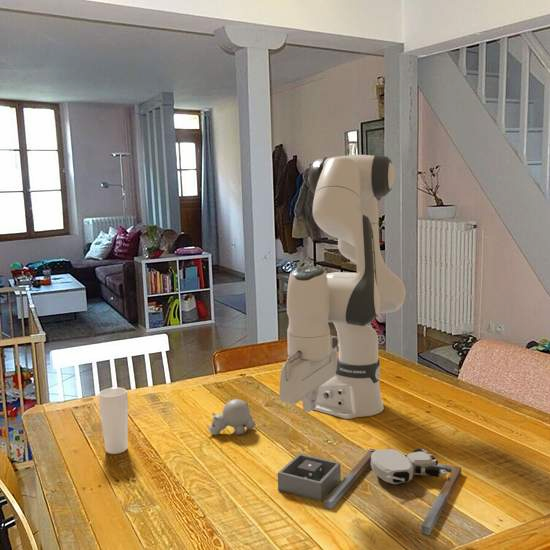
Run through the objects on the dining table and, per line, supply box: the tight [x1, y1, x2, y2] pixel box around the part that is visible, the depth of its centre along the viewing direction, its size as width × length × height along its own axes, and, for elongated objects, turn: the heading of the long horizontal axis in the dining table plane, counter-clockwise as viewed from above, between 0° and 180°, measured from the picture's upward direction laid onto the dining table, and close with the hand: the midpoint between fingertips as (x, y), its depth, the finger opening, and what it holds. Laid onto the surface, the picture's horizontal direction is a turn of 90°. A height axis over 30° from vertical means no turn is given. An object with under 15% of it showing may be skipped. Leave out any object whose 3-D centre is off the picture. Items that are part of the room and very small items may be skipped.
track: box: [324, 448, 462, 536], centre depth 126 cm, size 21×28×2 cm
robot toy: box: [365, 448, 448, 485], centre depth 131 cm, size 12×4×15 cm
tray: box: [277, 453, 342, 503], centre depth 128 cm, size 10×10×4 cm
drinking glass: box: [98, 387, 129, 455], centre depth 146 cm, size 7×7×15 cm
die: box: [297, 460, 323, 481], centre depth 128 cm, size 4×4×4 cm
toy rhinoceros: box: [206, 398, 256, 436], centre depth 156 cm, size 7×12×8 cm, turn 100°
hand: (309, 409), depth 126 cm, fingers closed
